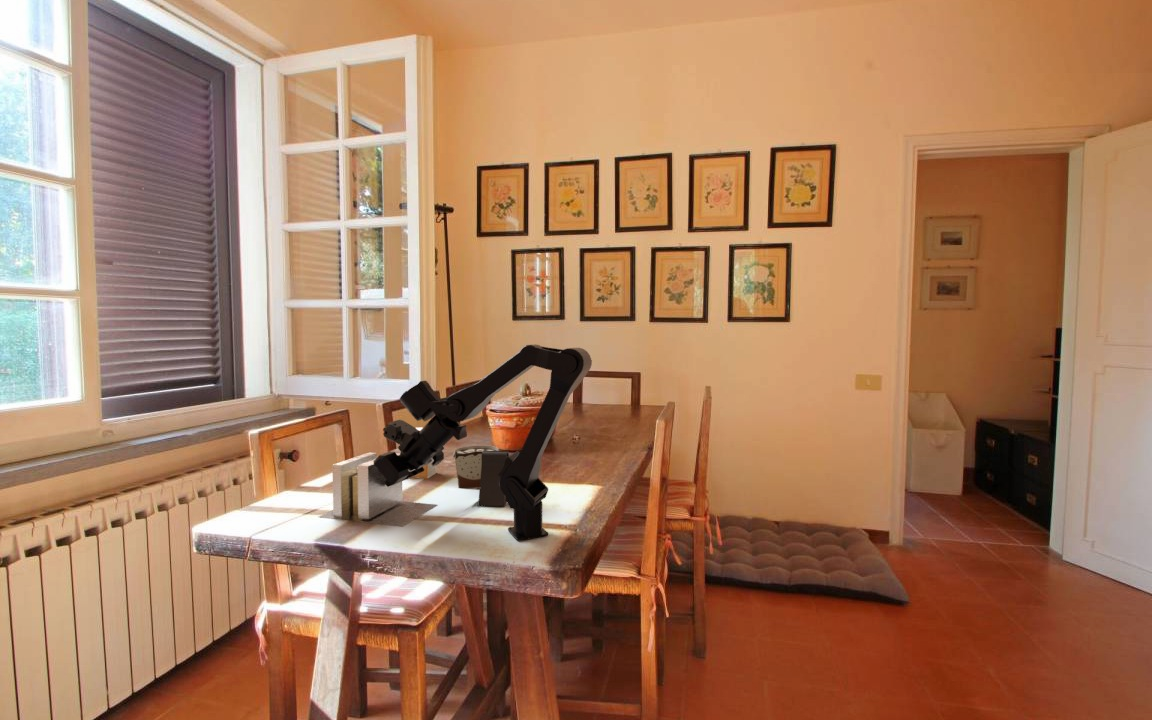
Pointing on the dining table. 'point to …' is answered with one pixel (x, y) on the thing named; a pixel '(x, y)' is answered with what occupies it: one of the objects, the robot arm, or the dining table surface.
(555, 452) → the dining table surface
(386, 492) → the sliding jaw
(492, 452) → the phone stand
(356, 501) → the brass block
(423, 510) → the vise base
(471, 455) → the brown cake slice
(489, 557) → the dining table surface
